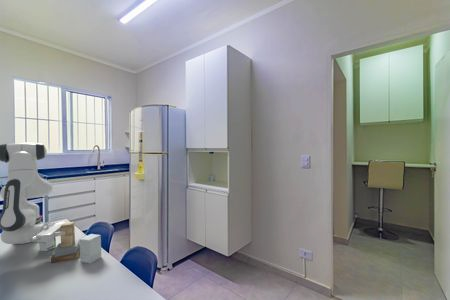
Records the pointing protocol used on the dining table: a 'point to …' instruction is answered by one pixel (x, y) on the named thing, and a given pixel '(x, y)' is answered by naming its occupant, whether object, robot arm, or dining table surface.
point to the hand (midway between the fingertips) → (69, 229)
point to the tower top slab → (66, 249)
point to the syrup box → (47, 245)
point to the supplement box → (90, 248)
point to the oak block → (67, 234)
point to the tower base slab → (65, 257)
